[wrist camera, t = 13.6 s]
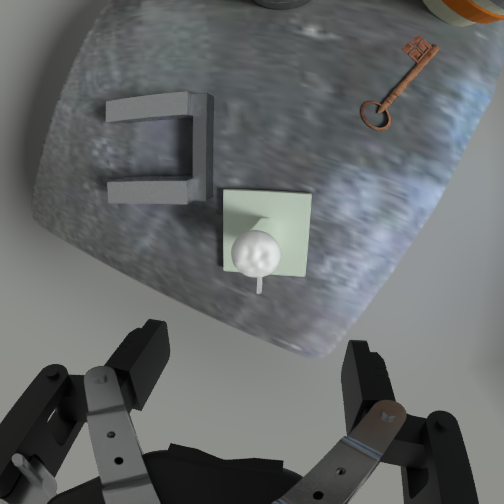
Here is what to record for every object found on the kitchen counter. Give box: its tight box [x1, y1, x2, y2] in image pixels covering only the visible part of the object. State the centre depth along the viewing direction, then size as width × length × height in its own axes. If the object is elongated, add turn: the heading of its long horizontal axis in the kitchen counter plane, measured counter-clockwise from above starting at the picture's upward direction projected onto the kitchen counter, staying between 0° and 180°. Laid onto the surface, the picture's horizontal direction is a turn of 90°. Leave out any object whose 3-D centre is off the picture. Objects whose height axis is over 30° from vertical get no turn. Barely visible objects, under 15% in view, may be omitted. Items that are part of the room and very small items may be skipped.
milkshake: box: [231, 217, 280, 294], centre depth 32 cm, size 4×5×10 cm
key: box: [361, 35, 439, 131], centre depth 29 cm, size 6×1×15 cm
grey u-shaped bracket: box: [106, 91, 214, 204], centre depth 33 cm, size 12×12×5 cm
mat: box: [223, 189, 312, 277], centre depth 37 cm, size 10×10×1 cm
